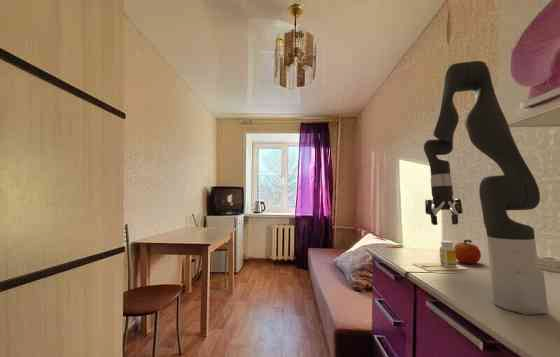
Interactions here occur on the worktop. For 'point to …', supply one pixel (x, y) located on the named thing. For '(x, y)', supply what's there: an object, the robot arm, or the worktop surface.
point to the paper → (438, 267)
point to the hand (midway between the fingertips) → (445, 224)
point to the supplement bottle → (447, 254)
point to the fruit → (467, 252)
